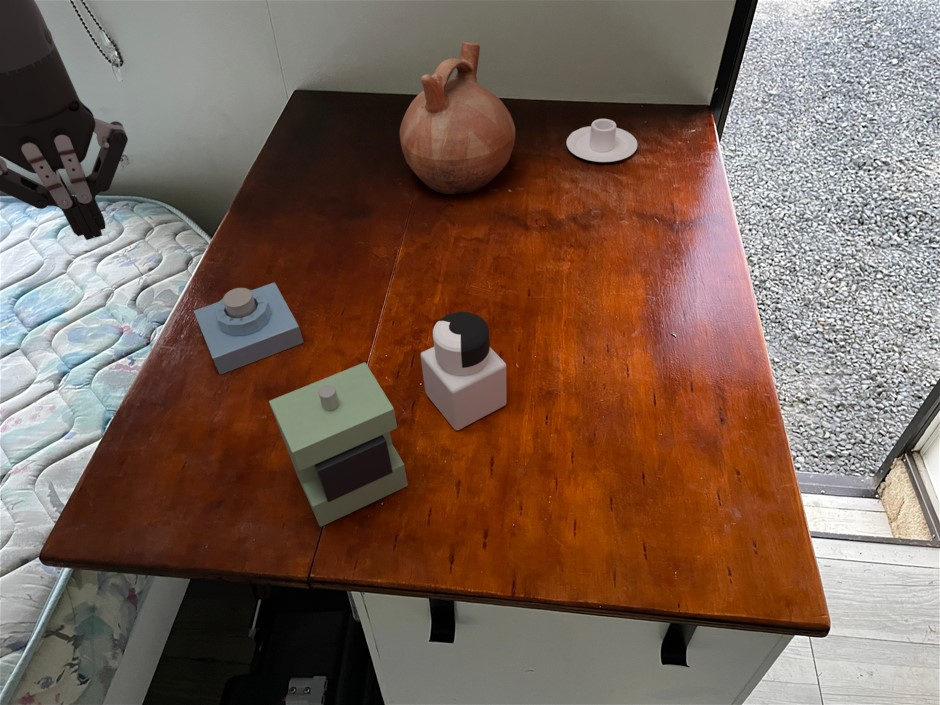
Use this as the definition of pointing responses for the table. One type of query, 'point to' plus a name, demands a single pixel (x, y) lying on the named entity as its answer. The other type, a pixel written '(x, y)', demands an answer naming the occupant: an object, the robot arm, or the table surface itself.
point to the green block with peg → (338, 435)
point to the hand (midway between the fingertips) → (93, 233)
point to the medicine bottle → (463, 370)
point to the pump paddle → (354, 468)
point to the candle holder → (602, 142)
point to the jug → (457, 128)
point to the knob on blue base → (249, 330)
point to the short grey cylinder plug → (239, 302)
